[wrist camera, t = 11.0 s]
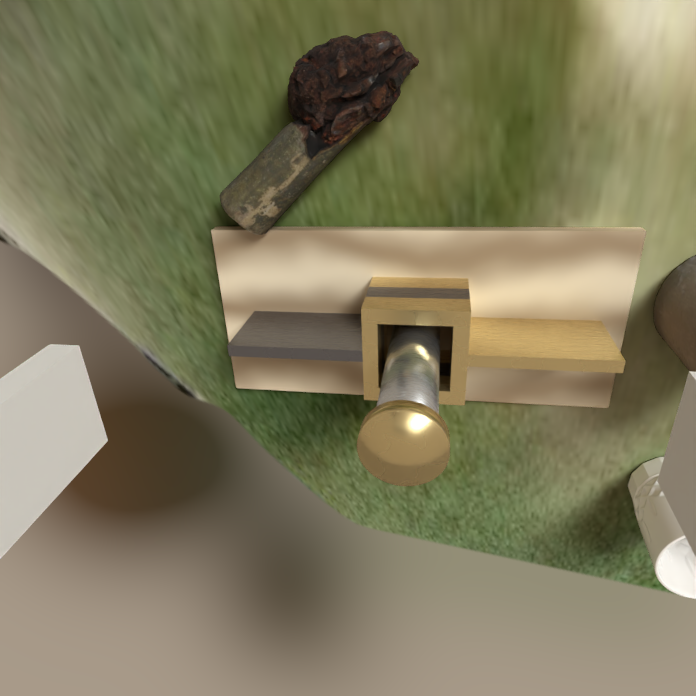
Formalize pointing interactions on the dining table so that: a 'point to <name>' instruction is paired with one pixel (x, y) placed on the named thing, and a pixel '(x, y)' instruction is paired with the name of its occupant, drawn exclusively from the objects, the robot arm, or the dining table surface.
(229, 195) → the branch with fungus
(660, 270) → the dining table surface
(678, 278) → the pillar candle
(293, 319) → the hinge
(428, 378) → the hinge pin
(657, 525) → the white cup
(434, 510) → the dining table surface
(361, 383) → the mounting board
